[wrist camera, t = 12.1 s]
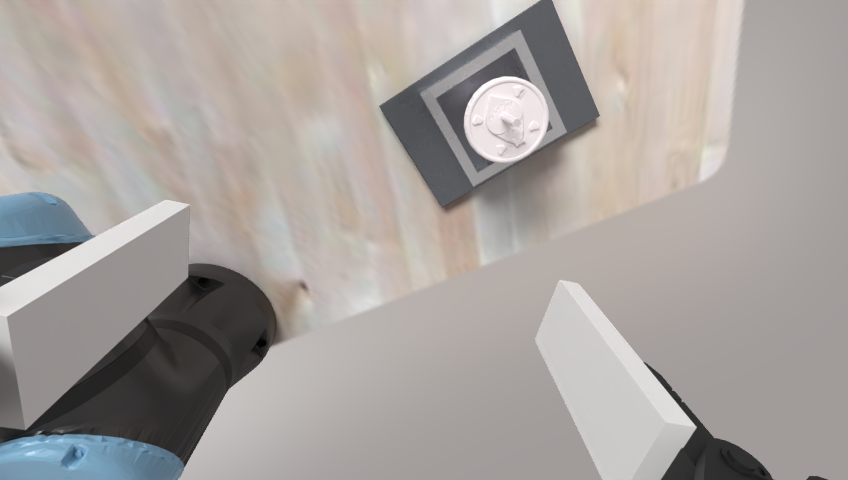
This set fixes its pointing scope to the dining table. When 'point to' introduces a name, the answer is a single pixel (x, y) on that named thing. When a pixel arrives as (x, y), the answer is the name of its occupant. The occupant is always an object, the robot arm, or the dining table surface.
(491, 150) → the smoothie
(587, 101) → the collar
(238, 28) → the dining table surface
